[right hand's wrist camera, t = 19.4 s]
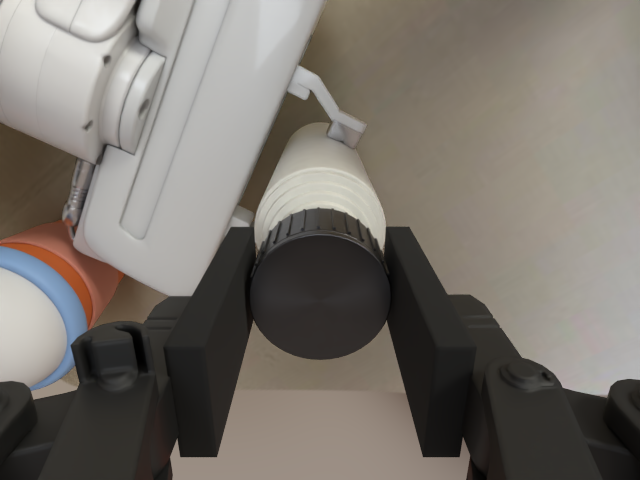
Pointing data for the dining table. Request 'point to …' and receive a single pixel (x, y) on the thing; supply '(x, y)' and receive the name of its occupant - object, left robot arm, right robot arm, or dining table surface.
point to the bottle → (319, 183)
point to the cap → (320, 285)
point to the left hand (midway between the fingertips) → (334, 187)
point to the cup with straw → (47, 302)
